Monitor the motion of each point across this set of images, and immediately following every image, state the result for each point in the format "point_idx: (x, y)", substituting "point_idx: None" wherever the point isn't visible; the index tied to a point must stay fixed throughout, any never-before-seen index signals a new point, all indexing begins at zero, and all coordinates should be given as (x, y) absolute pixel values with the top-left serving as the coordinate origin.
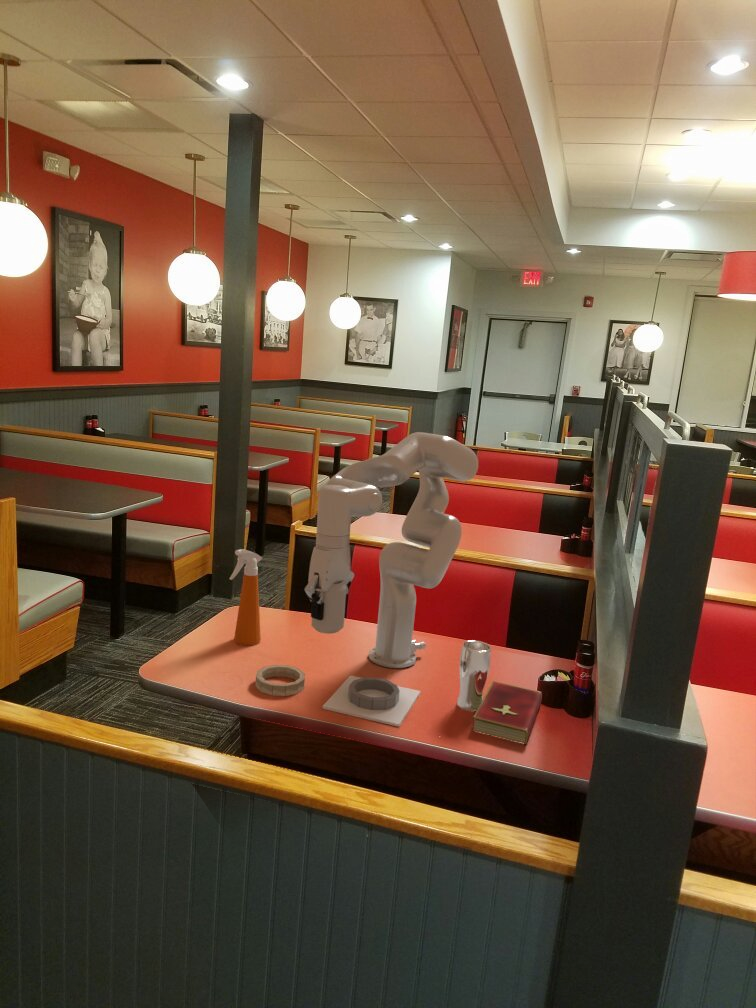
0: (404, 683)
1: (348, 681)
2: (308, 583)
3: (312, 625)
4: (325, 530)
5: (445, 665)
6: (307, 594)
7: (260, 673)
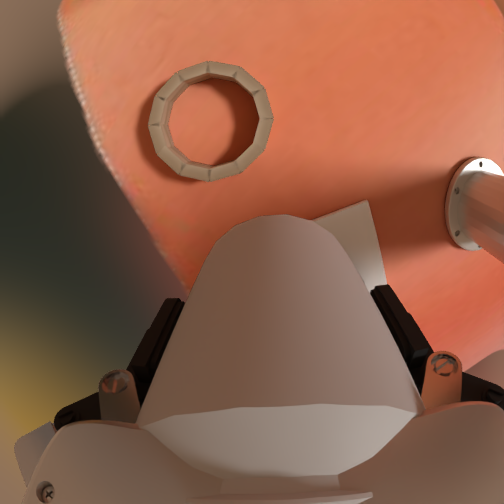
0: (410, 283)
1: (341, 218)
2: (25, 480)
3: (205, 260)
4: None
5: (490, 279)
6: (49, 424)
7: (173, 86)
